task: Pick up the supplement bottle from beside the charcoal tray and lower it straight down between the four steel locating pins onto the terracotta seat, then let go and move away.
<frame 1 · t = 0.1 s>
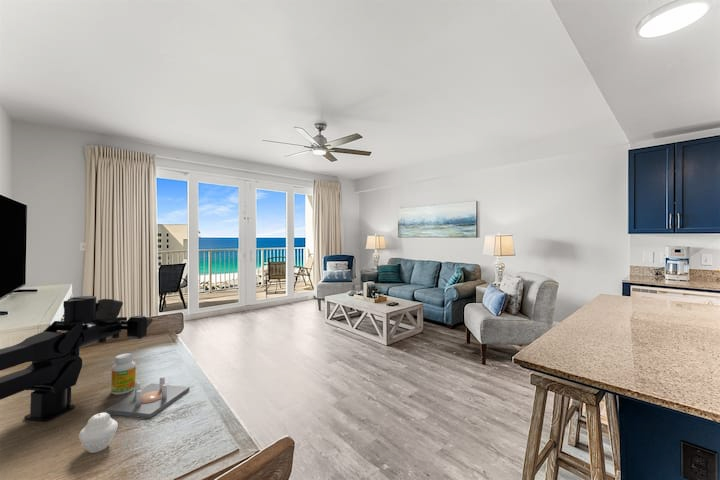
hand: (139, 319, 101), 17 cm above the table, tool horizontal, fingers open, 9 cm apart
pin tray: (150, 401, 82), on the table
white lump: (98, 448, 64), on the table
supplement bottle: (123, 391, 88), on the table
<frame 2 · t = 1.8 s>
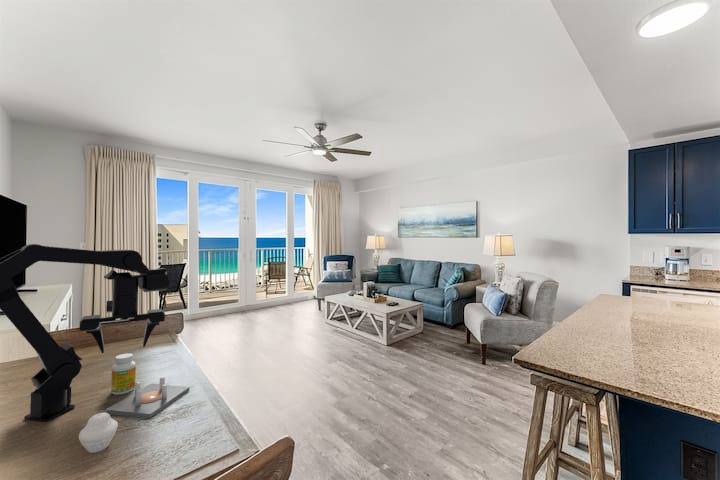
hand: (124, 349, 88), 11 cm above the table, tool pointing down, fingers open, 9 cm apart
nothing on the table moved.
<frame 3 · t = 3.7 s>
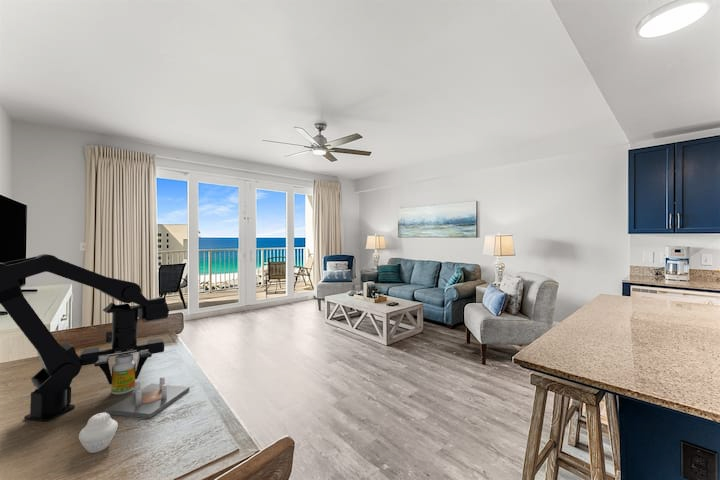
hand: (123, 381, 88), 3 cm above the table, tool pointing down, fingers closed on supplement bottle, 5 cm apart
supplement bottle: (123, 391, 88), on the table, touching gripper
everything else where it was.
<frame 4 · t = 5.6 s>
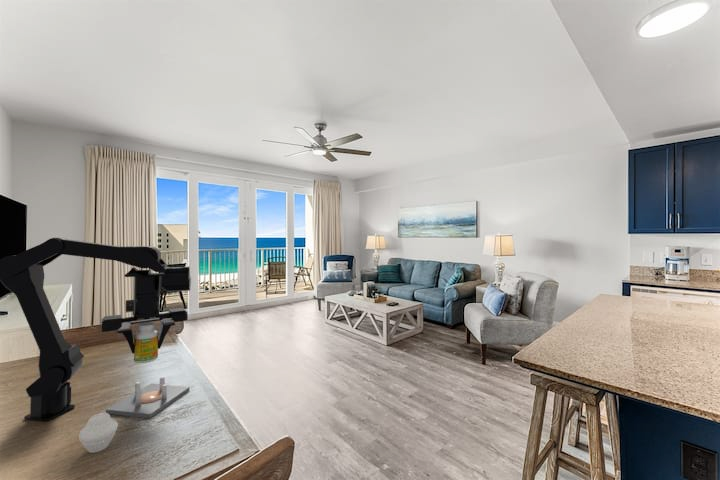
hand: (146, 350, 84), 13 cm above the table, tool pointing down, fingers closed on supplement bottle, 5 cm apart
supplement bottle: (146, 360, 84), point 10 cm above the table, touching gripper
everything else where it was.
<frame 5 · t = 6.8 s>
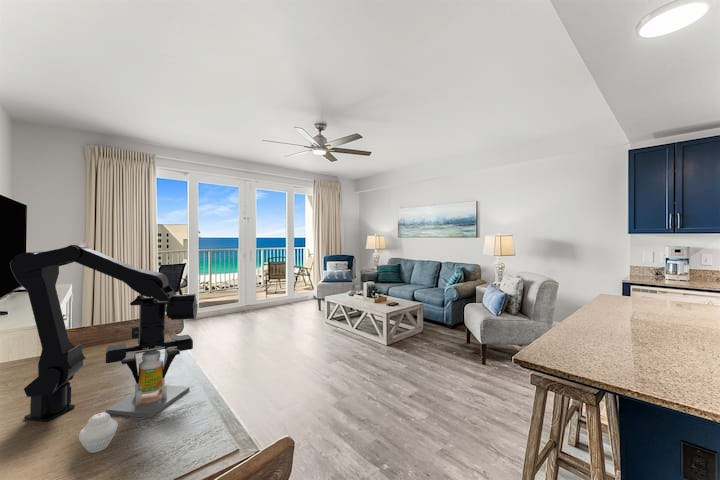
hand: (150, 380, 82), 6 cm above the table, tool pointing down, fingers closed on supplement bottle, 5 cm apart
supplement bottle: (150, 390, 82), point 3 cm above the table, touching gripper
everything else where it was.
when the fingers open (5 cm above the table, at t = 7.7 s): supplement bottle stays where it is, resting on pin tray.
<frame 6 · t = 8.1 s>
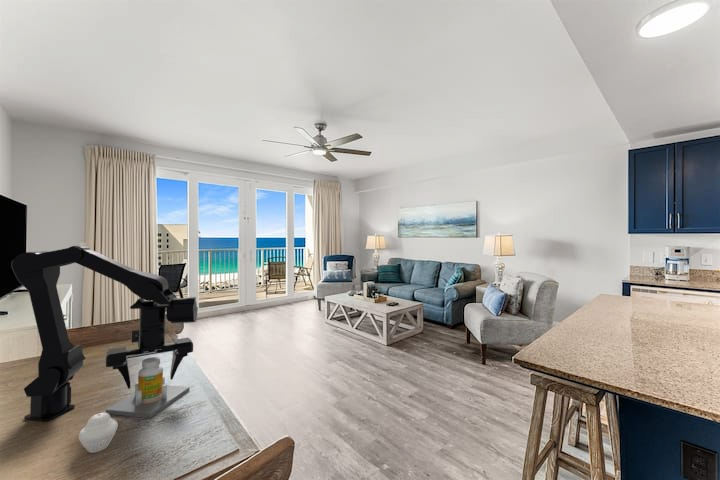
hand: (151, 383, 82), 5 cm above the table, tool pointing down, fingers open, 9 cm apart
supplement bottle: (150, 397, 82), point 1 cm above the table, touching pin tray
everything else where it was.
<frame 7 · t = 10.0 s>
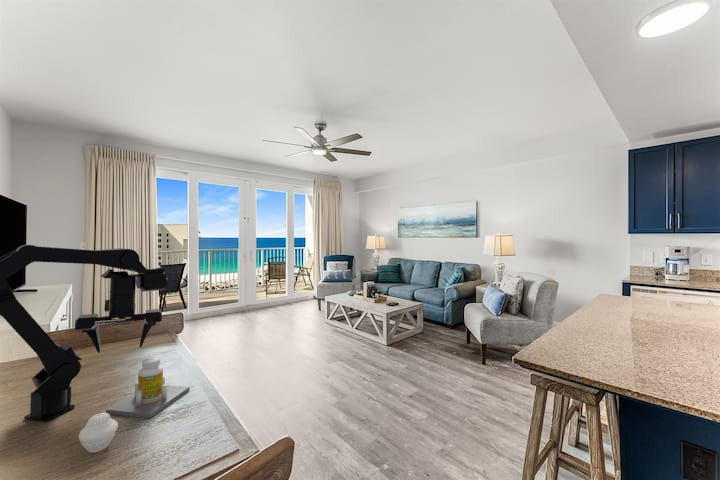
hand: (120, 349, 86), 12 cm above the table, tool pointing down, fingers open, 9 cm apart
nothing on the table moved.
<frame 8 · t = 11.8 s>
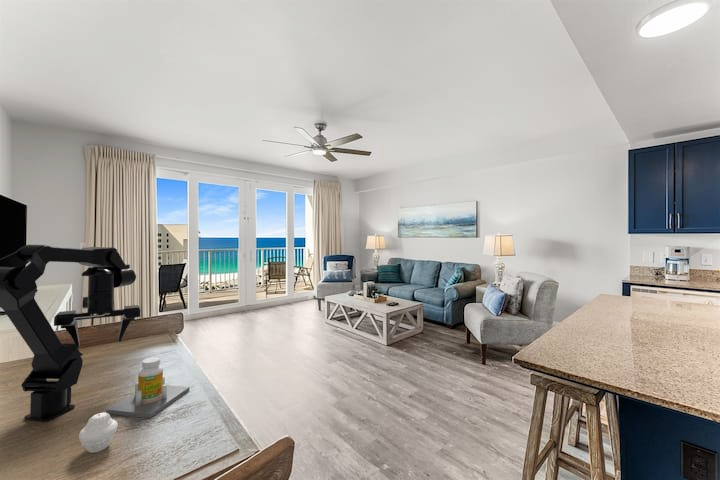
hand: (99, 344, 90), 12 cm above the table, tool pointing down, fingers open, 9 cm apart
nothing on the table moved.
at the end: supplement bottle 0.1 cm off-centre on the pin tray, point 1.0 cm above the pin tray's base; supplement bottle tilted 0°; the gripper is holding nothing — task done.
